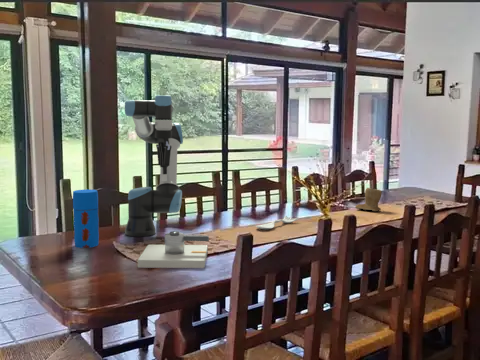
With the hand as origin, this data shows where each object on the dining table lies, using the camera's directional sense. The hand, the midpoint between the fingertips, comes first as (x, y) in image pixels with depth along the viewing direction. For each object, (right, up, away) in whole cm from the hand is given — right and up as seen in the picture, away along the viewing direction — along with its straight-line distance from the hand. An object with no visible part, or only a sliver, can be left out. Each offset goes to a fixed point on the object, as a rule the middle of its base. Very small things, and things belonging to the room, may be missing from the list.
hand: (163, 181), depth 226 cm
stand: (+8, -32, -22) cm, 40 cm away
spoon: (+55, -25, +45) cm, 75 cm away
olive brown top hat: (+120, -20, +95) cm, 154 cm away
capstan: (+13, -29, -23) cm, 39 cm away
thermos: (-35, -30, -1) cm, 46 cm away
